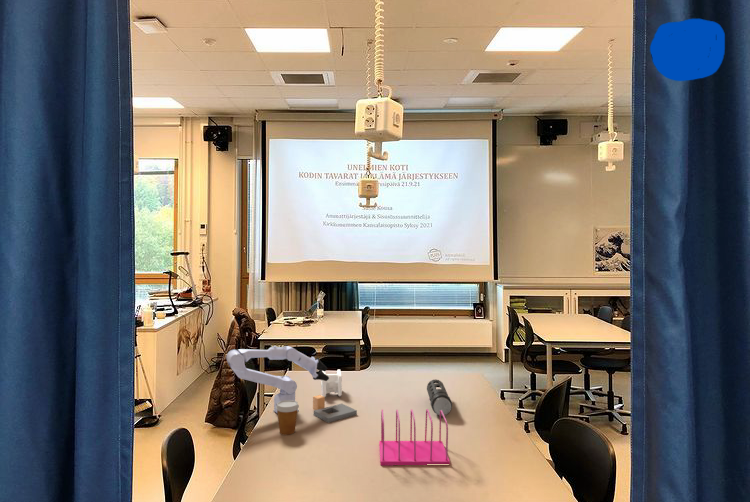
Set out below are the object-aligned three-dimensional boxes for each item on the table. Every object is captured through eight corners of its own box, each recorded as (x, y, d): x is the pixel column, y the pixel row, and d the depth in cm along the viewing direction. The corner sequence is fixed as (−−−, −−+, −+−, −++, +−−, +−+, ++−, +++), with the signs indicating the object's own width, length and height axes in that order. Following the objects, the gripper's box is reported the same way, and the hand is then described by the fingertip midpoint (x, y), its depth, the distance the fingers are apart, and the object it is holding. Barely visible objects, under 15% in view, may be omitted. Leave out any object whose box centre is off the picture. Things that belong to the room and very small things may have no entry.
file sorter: (379, 445, 185) (379, 405, 185) (442, 445, 185) (442, 406, 185) (380, 466, 167) (380, 422, 167) (450, 466, 168) (450, 422, 168)
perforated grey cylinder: (444, 398, 241) (444, 378, 241) (452, 419, 213) (453, 396, 213) (426, 398, 241) (426, 378, 241) (431, 418, 213) (432, 396, 213)
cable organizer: (341, 398, 240) (342, 376, 240) (321, 399, 238) (321, 376, 238) (340, 389, 255) (340, 368, 254) (320, 390, 253) (320, 368, 253)
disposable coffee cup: (293, 437, 191) (294, 408, 191) (272, 435, 193) (272, 406, 193) (302, 428, 200) (302, 400, 200) (281, 426, 202) (281, 399, 202)
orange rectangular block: (317, 411, 221) (317, 398, 221) (313, 408, 224) (313, 396, 224) (324, 409, 224) (324, 397, 224) (320, 407, 227) (320, 394, 227)
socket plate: (327, 422, 207) (327, 418, 207) (313, 414, 216) (313, 410, 216) (356, 414, 217) (356, 410, 217) (341, 407, 226) (341, 403, 226)
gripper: (311, 365, 218) (333, 377, 223) (308, 347, 231) (330, 360, 236) (302, 375, 219) (324, 388, 224) (300, 357, 232) (321, 370, 237)
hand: (326, 374), depth 230 cm, fingers open, 7 cm apart
